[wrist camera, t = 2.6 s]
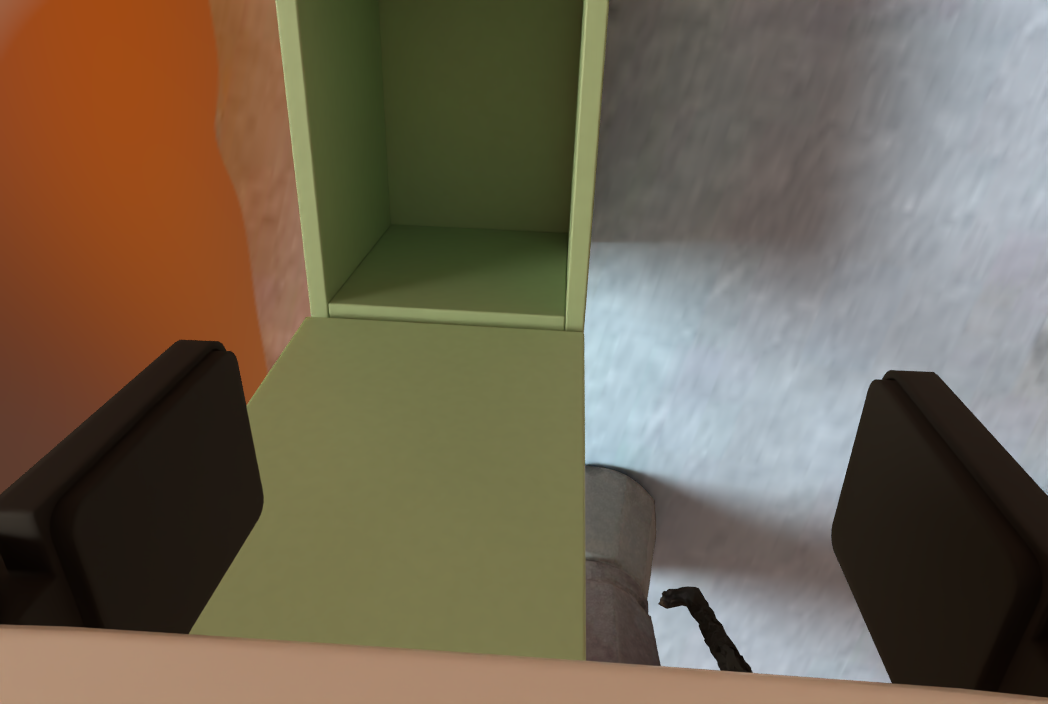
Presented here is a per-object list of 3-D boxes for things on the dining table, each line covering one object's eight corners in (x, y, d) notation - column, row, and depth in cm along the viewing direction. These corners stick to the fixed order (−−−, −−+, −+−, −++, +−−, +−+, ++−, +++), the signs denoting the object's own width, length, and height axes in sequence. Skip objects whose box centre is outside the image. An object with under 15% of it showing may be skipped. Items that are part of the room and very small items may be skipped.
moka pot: (464, 496, 50) (401, 780, 32) (673, 417, 46) (734, 689, 28) (527, 590, 53) (502, 892, 35) (726, 524, 49) (810, 826, 31)
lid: (64, 672, 16) (75, 693, 16) (586, 714, 15) (584, 735, 16) (306, 315, 30) (308, 332, 30) (584, 331, 29) (582, 348, 30)
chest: (362, -82, 34) (261, -116, 23) (604, -75, 34) (617, -106, 23) (381, 232, 41) (310, 319, 30) (581, 242, 41) (583, 335, 30)
